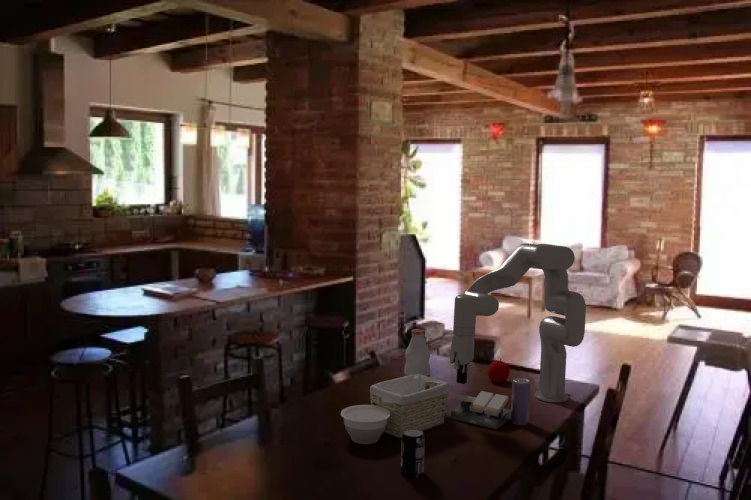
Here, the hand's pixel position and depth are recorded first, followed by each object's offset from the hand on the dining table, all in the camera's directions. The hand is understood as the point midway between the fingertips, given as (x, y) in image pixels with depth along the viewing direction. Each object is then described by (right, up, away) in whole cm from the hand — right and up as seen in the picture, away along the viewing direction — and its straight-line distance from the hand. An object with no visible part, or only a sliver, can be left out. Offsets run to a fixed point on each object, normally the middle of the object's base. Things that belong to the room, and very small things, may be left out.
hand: (461, 382), depth 237 cm
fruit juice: (-15, -11, +15) cm, 24 cm away
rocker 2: (+7, -7, +2) cm, 10 cm away
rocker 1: (+3, -7, +5) cm, 8 cm away
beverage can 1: (-19, -18, -42) cm, 50 cm away
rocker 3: (+12, -7, -1) cm, 14 cm away
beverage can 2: (+20, -14, -1) cm, 24 cm away
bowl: (-33, -15, -18) cm, 40 cm away
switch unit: (+7, -13, +2) cm, 15 cm away
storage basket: (-18, -14, -6) cm, 24 cm away
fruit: (+21, -9, +46) cm, 51 cm away
